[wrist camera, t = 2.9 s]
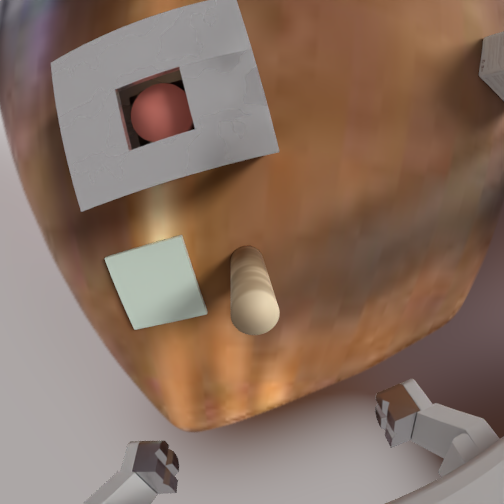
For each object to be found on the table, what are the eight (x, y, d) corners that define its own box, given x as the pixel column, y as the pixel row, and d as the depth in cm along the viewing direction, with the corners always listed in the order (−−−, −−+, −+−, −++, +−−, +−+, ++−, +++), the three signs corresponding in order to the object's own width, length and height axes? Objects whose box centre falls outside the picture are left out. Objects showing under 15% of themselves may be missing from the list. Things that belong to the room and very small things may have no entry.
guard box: (233, 32, 21) (234, -5, 15) (266, 153, 25) (279, 152, 18) (89, 80, 22) (50, 62, 15) (116, 197, 25) (81, 212, 18)
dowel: (258, 242, 27) (273, 287, 18) (266, 272, 28) (283, 328, 19) (226, 250, 27) (224, 299, 18) (235, 279, 28) (238, 339, 19)
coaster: (182, 234, 27) (180, 236, 26) (207, 311, 29) (207, 314, 29) (106, 256, 27) (104, 258, 26) (135, 326, 29) (134, 329, 29)
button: (188, 84, 21) (183, 75, 18) (201, 134, 22) (197, 131, 19) (137, 101, 21) (125, 95, 18) (149, 151, 22) (138, 150, 19)
